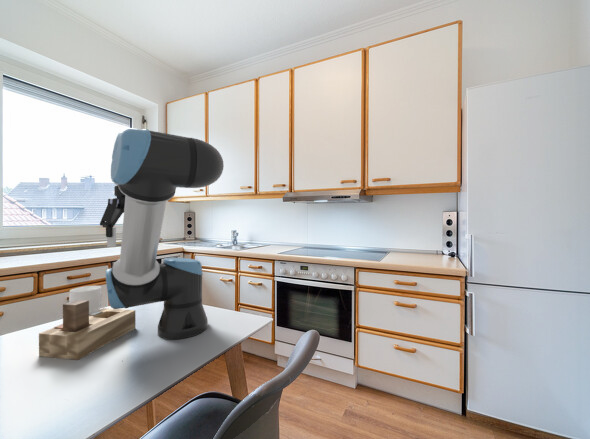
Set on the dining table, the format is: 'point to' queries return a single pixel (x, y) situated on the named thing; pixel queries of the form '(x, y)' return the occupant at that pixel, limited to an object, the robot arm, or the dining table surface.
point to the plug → (75, 315)
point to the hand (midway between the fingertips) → (127, 244)
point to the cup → (87, 296)
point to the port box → (87, 334)
